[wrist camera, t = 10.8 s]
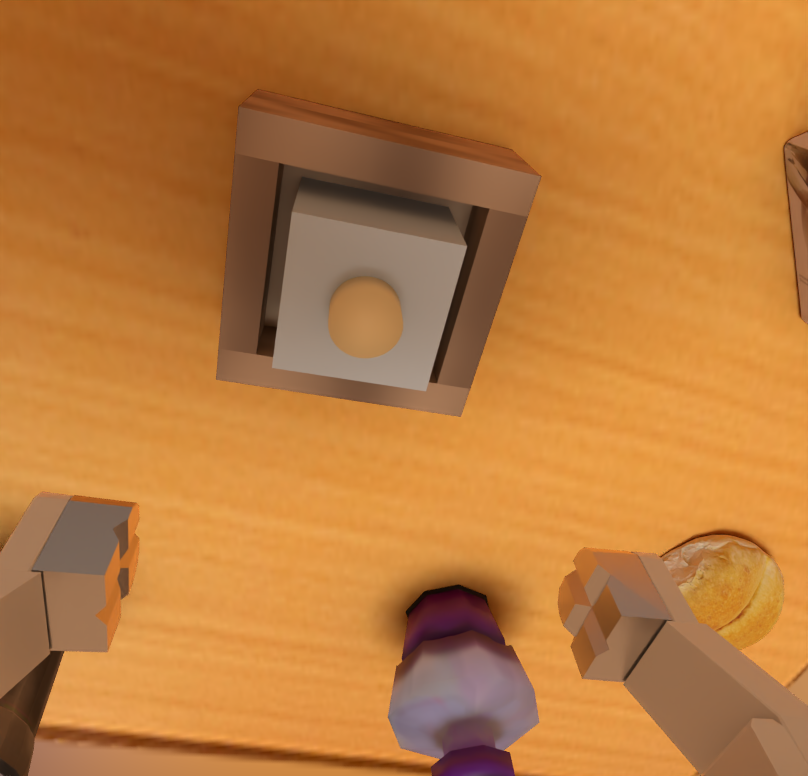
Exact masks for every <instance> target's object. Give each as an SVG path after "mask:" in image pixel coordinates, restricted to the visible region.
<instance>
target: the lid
mask: <svg viewBox="0 0 808 776" xmlns="http://www.w3.org/2000/svg"><path fill="white" fill-rule="evenodd" d="M466 249H467V245H466V243H465V241H464V238H463V236H462V234H461V232H460V230H459V228H458V226H457V224H456V222H455V220H454V217H453V215H452V213H451V211H450V209H449V207H446V206H441V205H436V204H432V203H427V202H422V201H417V200H412V199H408V198H403V197H398V196H393V195H388V194H384V193H379V192H374V191H369V190H364V189H360V188H355V187H350V186H345V185H340V184H336V183H331V182H326V181H321V180H316V179H312V178H307V177H302V179H301V182H300V186H299V189H298V193H297V196H296V199H295V203H294V206H293V210H292V215H291V223H290V231H289V239H288V246H287V254H286V262H285V270H284V278H283V285H282V293H281V301H280V309H279V317H278V324H277V332H276V340H275V348H274V356H273V363H272V368H276V369H283V370H289V371H296V372H302V373H309V374H315V375H322V376H328V377H335V378H342V379H348V380H355V381H361V382H368V383H374V384H381V385H388V386H394V387H401V388H407V389H414V390H420V391H426V390H427V386H428V383H429V379H430V376H431V372H432V368H433V365H434V361H435V358H436V354H437V351H438V347H439V344H440V340H441V337H442V333H443V330H444V326H445V323H446V319H447V316H448V312H449V309H450V305H451V302H452V298H453V295H454V291H455V288H456V284H457V280H458V277H459V273H460V270H461V266H462V263H463V259H464V256H465V252H466Z"/></svg>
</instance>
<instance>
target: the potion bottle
mask: <svg viewBox="0 0 808 776" xmlns="http://www.w3.org/2000/svg"><path fill="white" fill-rule="evenodd" d="M406 614H407V617H408V623H407V630H406V636H405V642H404V648H403V654H402V662H401V663H400V664H399V665H398V666H396V672H395V678H394V684H393V690H392V696H391V702H390V708H389V714H388V718H389V721H390V723H391V726H392V728H393V731H394V733H395V735H396V738H397V740H398V743H399V745H400V748H402V749H406V750H409V751H413V752H417V753H420V754H424V755H428V756H431V757H435V758H439V759H440V760H439V761H438V762H436V763H435V764H434V765H433V766H432V767H431V770H432V776H515V774H514V769H513V765H512V760H511V756H510V752H507V751H504V750H505V749H506V748H508V747H509V746H510V745H511V744H513V743H514V742H515V741H516V740H518V739H519V738H520V737H521V736H523V735H524V734H525V733H527V732H528V731H529V730H530V729H532V728H533V727H534V726H535V725H537V724H538V723H539V717H538V711H537V705H536V699H535V693H534V689H533V687H532V685H531V683H530V681H529V679H528V677H527V675H526V673H525V671H524V669H523V667H522V665H521V663H520V661H519V659H518V657H517V655H516V653H515V651H514V649H513V647H512V646H511V645H509V646H506V645H505V640H504V638H503V636H502V634H501V632H500V630H499V628H498V626H497V624H496V622H495V620H494V618H493V616H492V614H491V612H490V610H489V607H488V602H487V597H486V595H483V594H481V593H478V592H476V591H473V590H471V589H468V588H466V587H463V586H461V585H455V586H450V587H445V588H440V589H435V590H430V591H425V592H424V593H423V594H422V595H421V596H420V597H419V598H418V599H417V600H416V601H415V602H414V603H413V604H412V605H411V607H410V608H409V609H408V610H407V611H406Z"/></svg>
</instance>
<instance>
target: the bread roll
mask: <svg viewBox="0 0 808 776" xmlns="http://www.w3.org/2000/svg"><path fill="white" fill-rule="evenodd" d="M661 559H662V560H663V562H664V563H665V565H666V567H667V569H668V570H669V572H670V574H671V576H672V577H673V579H674V581H675V582H676V584H677V586H678V588H679V589H680V591H681V593H682V595H683V596H684V598H685V600H686V601H687V603H688V605H689V607H690V608H691V610H692V612H693V614H694V615H695V617H696V619H697V621H698V622H699V623H701V624H707V625H708V626H709V627H711V628H712V629H713V630H714V631H716V632H717V633H718V634H719V635H720V636H722V637H723V638H724V639H725V640H727V641H728V642H729V643H730V644H732V645H733V646H734V647H735V648H737V649H738V650H741V649H744V648H746V647H748V646H751V645H753V644H754V643H756V642H758V641H759V640H761V639H762V638H764V637H765V636H766V635H767V634H768V633H769V632H770V631H771V629H772V628H773V627H774V625H775V624H776V622H777V620H778V618H779V615H780V613H781V610H782V606H783V602H784V580H783V576H782V573H781V571H780V569H779V567H778V565H777V563H776V562H775V560H774V559H773V558H772V557H771V556H770V555H769V554H767V553H765V552H764V551H763V550H762V549H760V548H759V547H758V546H757V545H755V544H754V543H752V542H750V541H748V540H745V539H742V538H738V537H735V536H731V535H709V536H704V537H699V538H696V539H693V540H691V541H689V542H687V543H685V544H683V545H682V546H680V547H678V548H676V549H674V550H672V551H670V552H668V553H667V554H665V555H664V556H662V557H661Z"/></svg>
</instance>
